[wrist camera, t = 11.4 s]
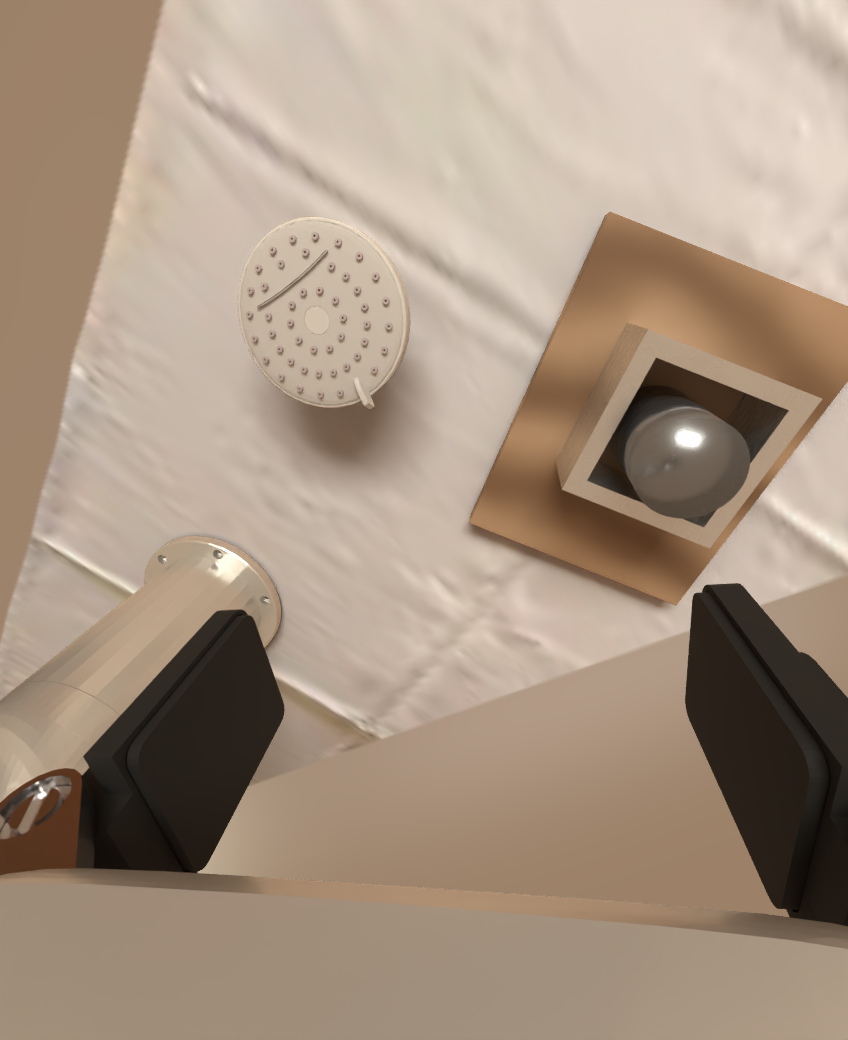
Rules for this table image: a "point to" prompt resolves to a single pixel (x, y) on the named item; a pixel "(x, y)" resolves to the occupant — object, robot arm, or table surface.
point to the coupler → (679, 453)
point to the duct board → (668, 362)
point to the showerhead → (323, 312)
